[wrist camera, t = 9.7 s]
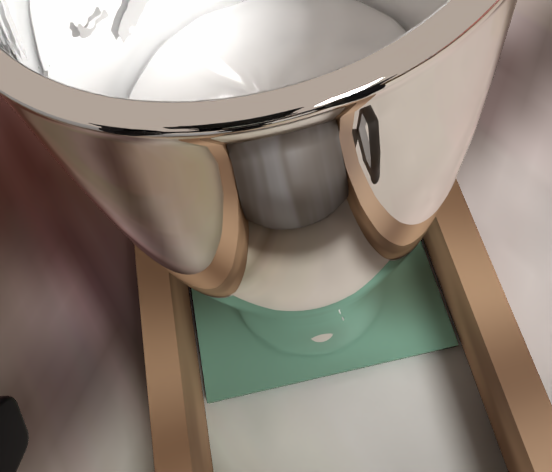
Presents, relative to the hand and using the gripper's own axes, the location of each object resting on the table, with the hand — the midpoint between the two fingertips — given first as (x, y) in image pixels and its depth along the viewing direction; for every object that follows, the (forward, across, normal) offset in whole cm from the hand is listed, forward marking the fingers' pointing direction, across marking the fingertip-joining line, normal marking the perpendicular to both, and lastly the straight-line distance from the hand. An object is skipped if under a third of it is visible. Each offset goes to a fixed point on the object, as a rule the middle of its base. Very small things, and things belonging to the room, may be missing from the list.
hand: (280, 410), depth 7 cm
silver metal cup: (+11, 0, +3) cm, 12 cm away
